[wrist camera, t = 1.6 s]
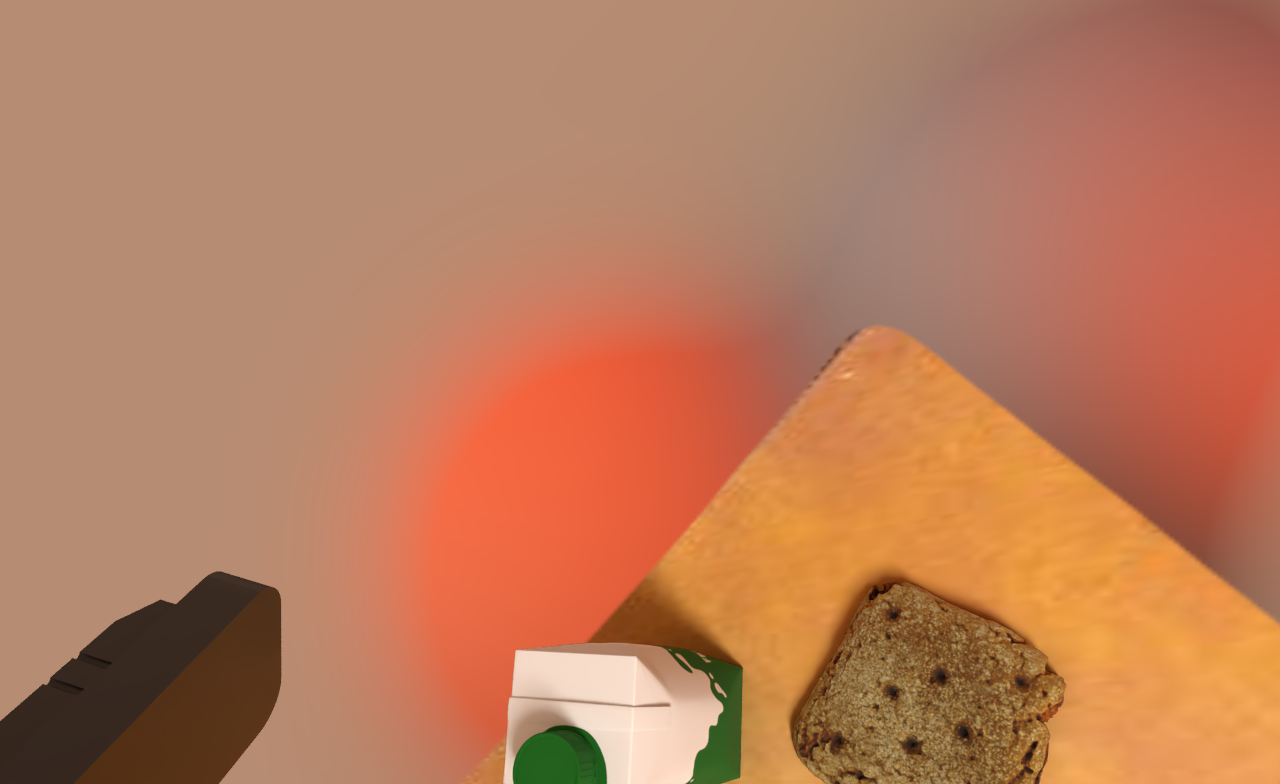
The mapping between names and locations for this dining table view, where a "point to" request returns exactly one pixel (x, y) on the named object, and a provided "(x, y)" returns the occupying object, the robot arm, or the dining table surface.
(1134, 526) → the dining table surface
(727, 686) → the milk carton
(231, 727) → the robot arm
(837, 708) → the pastry
